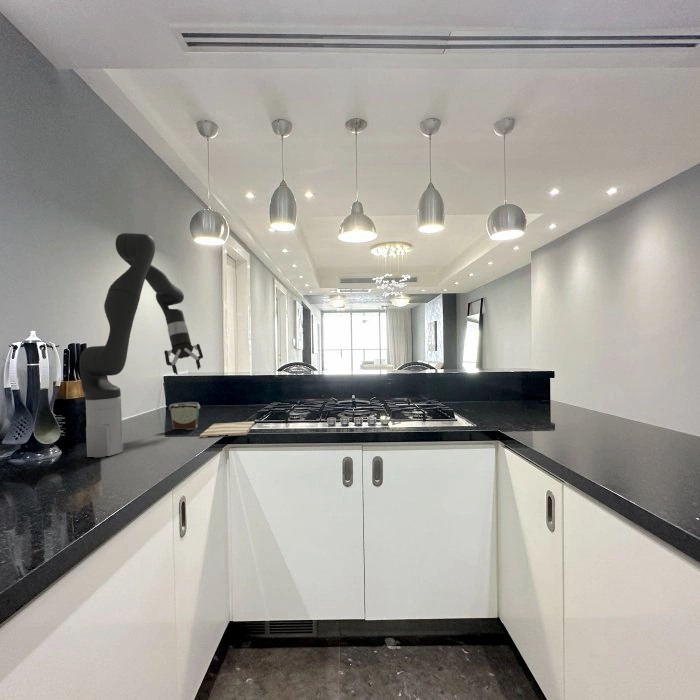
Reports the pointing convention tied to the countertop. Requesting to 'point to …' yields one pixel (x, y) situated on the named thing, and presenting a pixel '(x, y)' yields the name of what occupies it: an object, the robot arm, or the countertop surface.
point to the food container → (185, 415)
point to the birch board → (228, 429)
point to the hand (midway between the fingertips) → (187, 371)
